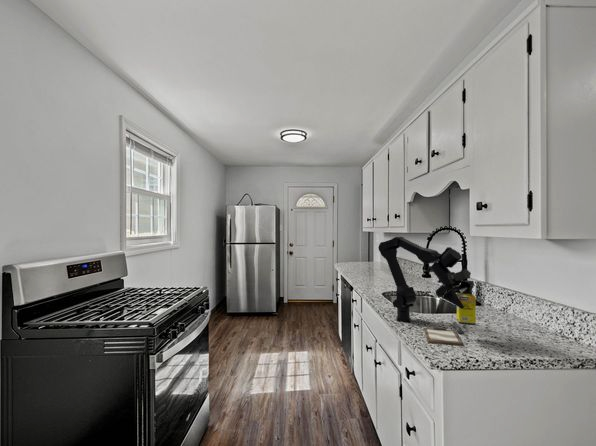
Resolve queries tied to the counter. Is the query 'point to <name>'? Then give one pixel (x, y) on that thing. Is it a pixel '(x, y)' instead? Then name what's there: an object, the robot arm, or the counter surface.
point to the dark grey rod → (457, 328)
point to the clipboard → (442, 336)
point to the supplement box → (467, 309)
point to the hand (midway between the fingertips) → (469, 306)
